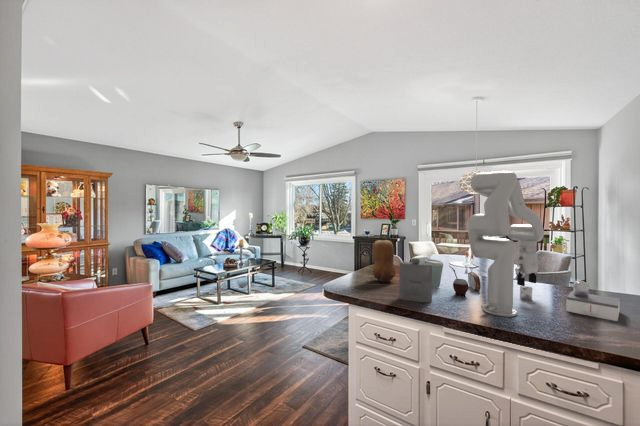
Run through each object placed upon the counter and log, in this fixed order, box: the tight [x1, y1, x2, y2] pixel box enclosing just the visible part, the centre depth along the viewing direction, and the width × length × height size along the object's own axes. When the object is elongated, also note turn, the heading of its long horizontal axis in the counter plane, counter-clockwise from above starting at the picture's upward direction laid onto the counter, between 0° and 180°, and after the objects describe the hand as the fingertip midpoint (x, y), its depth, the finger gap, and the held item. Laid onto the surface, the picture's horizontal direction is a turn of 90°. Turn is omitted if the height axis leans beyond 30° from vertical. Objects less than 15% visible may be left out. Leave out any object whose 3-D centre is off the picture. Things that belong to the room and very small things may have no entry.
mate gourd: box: [448, 265, 469, 298], centre depth 153 cm, size 8×8×15 cm
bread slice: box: [467, 271, 482, 292], centre depth 167 cm, size 15×3×8 cm, turn 168°
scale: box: [565, 290, 621, 322], centre depth 130 cm, size 17×16×6 cm
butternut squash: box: [372, 239, 397, 283], centre depth 180 cm, size 14×13×25 cm
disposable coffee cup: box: [423, 258, 444, 289], centre depth 169 cm, size 11×11×15 cm
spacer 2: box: [572, 280, 590, 298], centre depth 134 cm, size 5×5×6 cm
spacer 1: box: [519, 285, 533, 302], centre depth 148 cm, size 5×5×6 cm
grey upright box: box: [398, 257, 433, 303], centre depth 145 cm, size 15×6×20 cm, turn 70°
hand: (526, 283), depth 148 cm, fingers open, 9 cm apart
